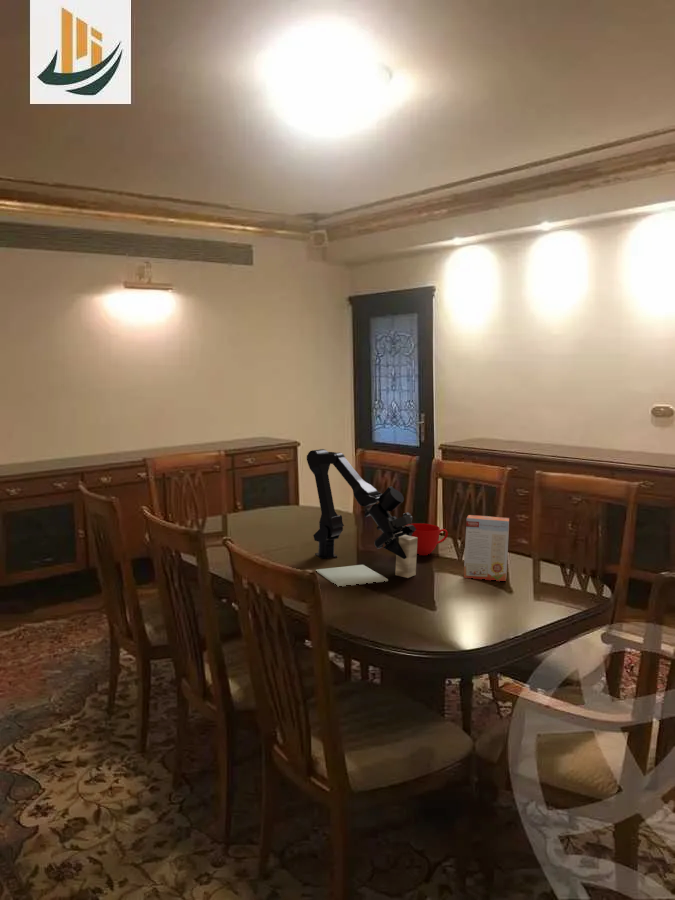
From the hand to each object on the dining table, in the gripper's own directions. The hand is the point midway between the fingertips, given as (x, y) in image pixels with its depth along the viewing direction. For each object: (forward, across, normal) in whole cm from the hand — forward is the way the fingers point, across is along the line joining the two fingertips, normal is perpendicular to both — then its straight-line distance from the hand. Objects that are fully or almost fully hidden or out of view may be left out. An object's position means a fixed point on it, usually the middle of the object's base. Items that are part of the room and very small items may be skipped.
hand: (409, 556), depth 245 cm
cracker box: (+19, +16, -10) cm, 27 cm away
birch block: (+4, 0, +6) cm, 7 cm away
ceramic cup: (-3, +30, +12) cm, 32 cm away
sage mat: (-5, -14, +15) cm, 21 cm away
